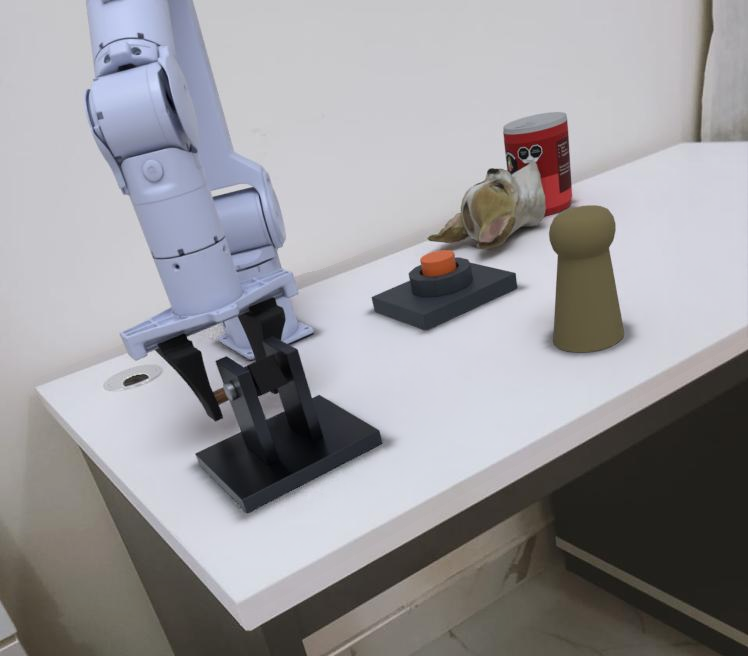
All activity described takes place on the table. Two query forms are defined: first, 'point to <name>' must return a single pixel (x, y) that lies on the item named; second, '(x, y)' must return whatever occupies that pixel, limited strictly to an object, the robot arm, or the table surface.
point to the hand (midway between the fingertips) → (244, 403)
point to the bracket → (281, 434)
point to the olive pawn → (585, 280)
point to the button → (438, 263)
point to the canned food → (542, 154)
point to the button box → (443, 294)
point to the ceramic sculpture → (497, 208)
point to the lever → (260, 377)
